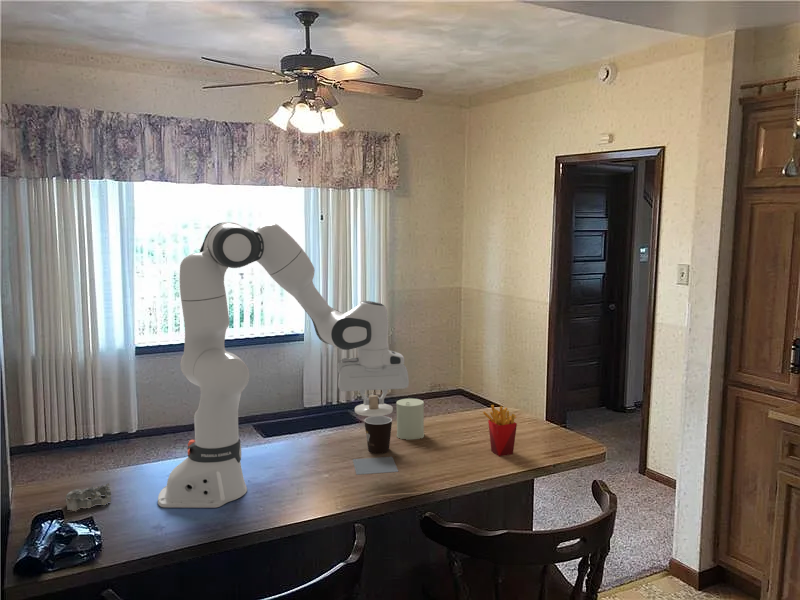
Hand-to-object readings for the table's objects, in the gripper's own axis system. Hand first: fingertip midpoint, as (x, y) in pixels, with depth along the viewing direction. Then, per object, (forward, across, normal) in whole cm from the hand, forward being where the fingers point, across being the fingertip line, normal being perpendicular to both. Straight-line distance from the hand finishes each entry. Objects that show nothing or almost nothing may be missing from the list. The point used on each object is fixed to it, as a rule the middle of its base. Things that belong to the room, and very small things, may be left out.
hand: (373, 404), depth 194 cm
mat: (+19, 0, 0) cm, 19 cm away
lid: (+2, 0, 0) cm, 2 cm away
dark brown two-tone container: (+19, +3, +14) cm, 24 cm away
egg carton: (+20, -75, -11) cm, 79 cm away
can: (+19, +15, +25) cm, 35 cm away
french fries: (+19, +39, +3) cm, 44 cm away
